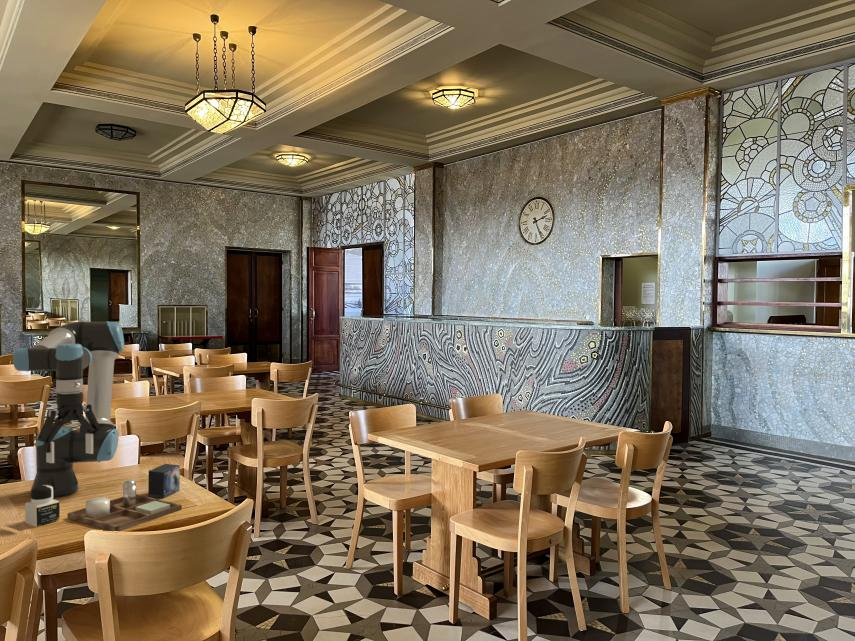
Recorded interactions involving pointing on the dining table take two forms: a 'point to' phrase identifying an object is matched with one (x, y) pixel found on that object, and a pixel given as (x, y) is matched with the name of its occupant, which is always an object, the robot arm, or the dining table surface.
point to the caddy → (124, 514)
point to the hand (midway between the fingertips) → (70, 457)
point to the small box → (163, 481)
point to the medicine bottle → (42, 507)
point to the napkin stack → (152, 507)
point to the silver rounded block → (97, 507)
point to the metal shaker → (129, 493)
